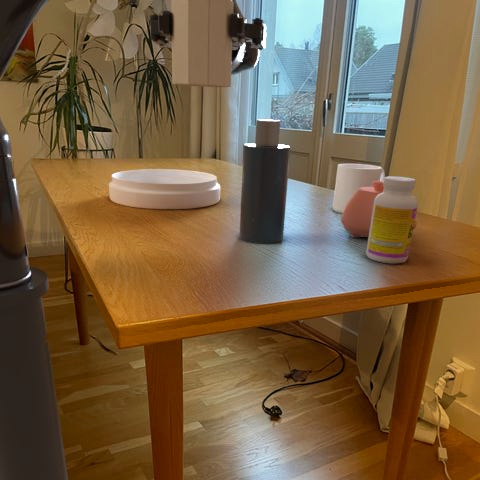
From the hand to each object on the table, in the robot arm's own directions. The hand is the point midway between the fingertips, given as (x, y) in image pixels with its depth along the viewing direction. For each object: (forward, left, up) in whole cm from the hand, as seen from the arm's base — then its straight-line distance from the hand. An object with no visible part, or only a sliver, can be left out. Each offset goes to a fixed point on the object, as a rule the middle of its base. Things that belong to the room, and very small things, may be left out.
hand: (200, 23), depth 50 cm
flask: (+16, +24, -30) cm, 41 cm away
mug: (+47, +46, -30) cm, 72 cm away
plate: (+3, +63, -30) cm, 70 cm away
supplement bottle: (+33, +9, -30) cm, 45 cm away
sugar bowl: (+39, +23, -30) cm, 54 cm away
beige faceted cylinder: (+1, +2, -6) cm, 6 cm away
